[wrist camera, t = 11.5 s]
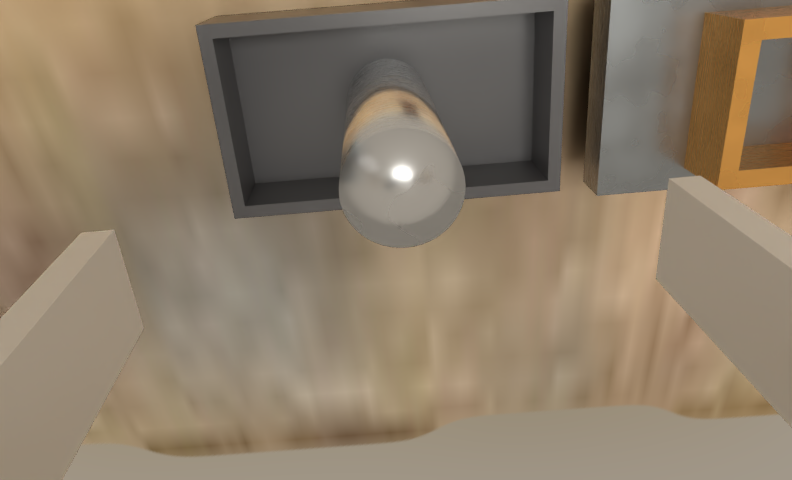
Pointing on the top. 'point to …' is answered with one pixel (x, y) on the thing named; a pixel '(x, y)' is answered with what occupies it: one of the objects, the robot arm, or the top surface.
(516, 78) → the pin tray
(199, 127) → the top surface
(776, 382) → the robot arm
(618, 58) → the plate with orange frame
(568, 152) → the top surface
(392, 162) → the pin
